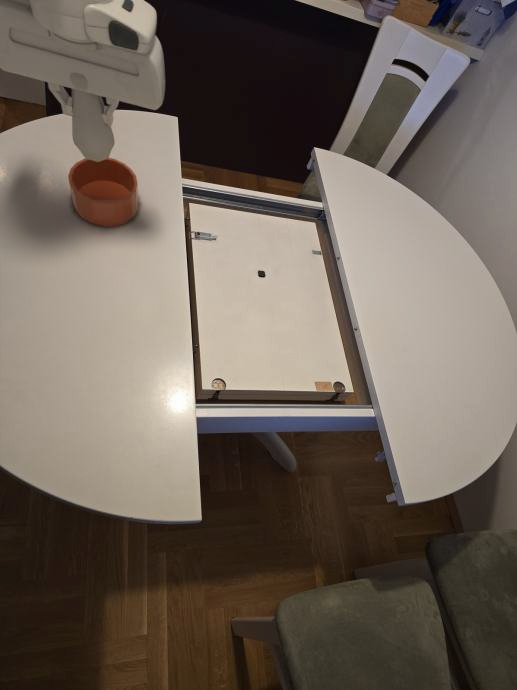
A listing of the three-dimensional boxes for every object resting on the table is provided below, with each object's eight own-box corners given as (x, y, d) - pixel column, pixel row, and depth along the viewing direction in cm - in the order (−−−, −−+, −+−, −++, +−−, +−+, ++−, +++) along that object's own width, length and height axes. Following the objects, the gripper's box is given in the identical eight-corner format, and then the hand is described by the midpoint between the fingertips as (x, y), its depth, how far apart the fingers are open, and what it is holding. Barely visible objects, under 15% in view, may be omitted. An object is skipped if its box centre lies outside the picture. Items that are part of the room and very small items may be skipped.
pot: (66, 219, 75) (61, 195, 70) (81, 175, 81) (76, 150, 75) (132, 231, 78) (131, 209, 73) (141, 188, 83) (141, 165, 78)
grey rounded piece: (108, 170, 58) (94, 82, 47) (69, 158, 58) (46, 66, 46) (121, 146, 61) (112, 57, 50) (84, 134, 61) (67, 41, 49)
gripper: (-45, -19, 39) (-1, 112, 51) (162, 43, 43) (159, 150, 55) (-23, -47, 42) (14, 83, 54) (170, 14, 46) (165, 122, 58)
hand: (89, 117), depth 55 cm, fingers closed on grey rounded piece, 3 cm apart
